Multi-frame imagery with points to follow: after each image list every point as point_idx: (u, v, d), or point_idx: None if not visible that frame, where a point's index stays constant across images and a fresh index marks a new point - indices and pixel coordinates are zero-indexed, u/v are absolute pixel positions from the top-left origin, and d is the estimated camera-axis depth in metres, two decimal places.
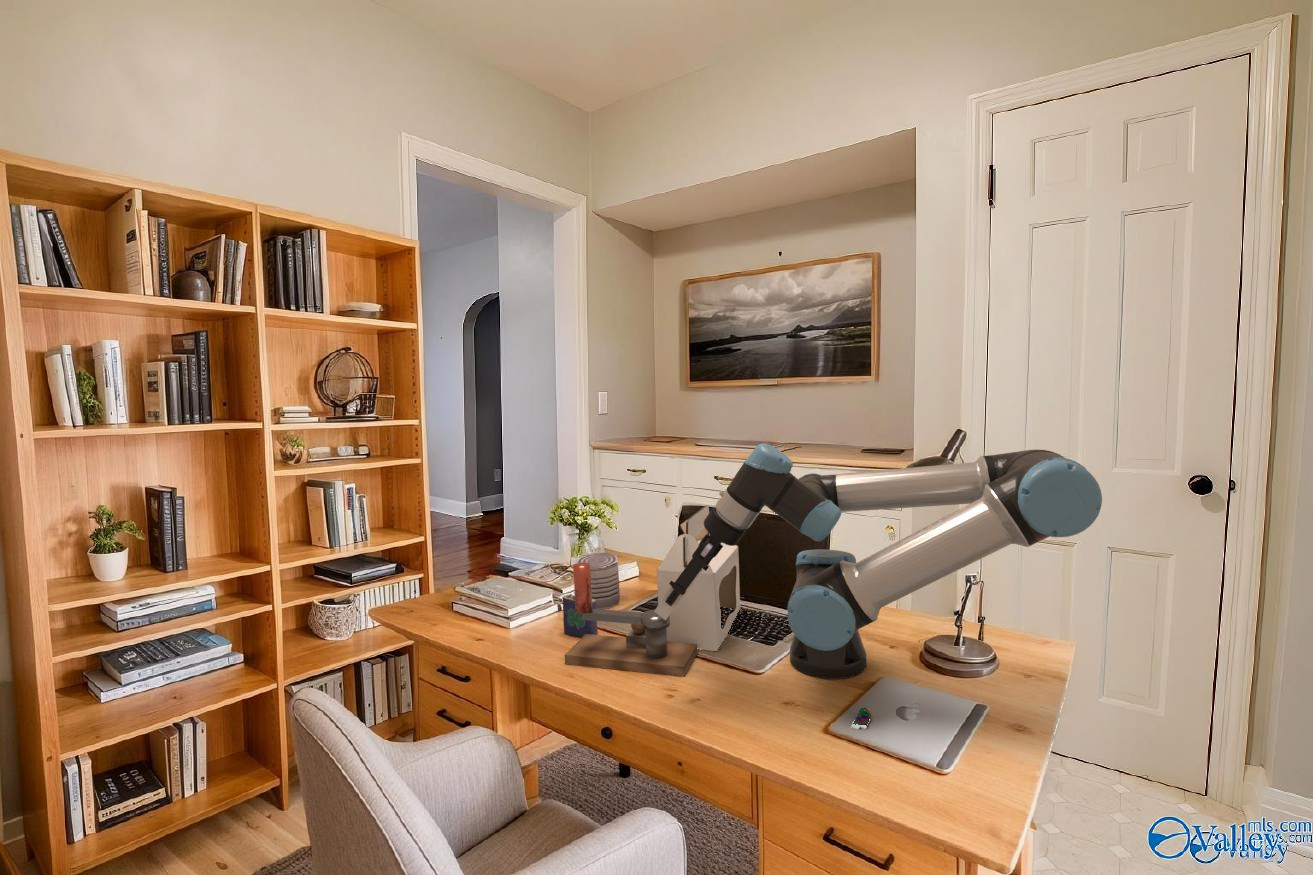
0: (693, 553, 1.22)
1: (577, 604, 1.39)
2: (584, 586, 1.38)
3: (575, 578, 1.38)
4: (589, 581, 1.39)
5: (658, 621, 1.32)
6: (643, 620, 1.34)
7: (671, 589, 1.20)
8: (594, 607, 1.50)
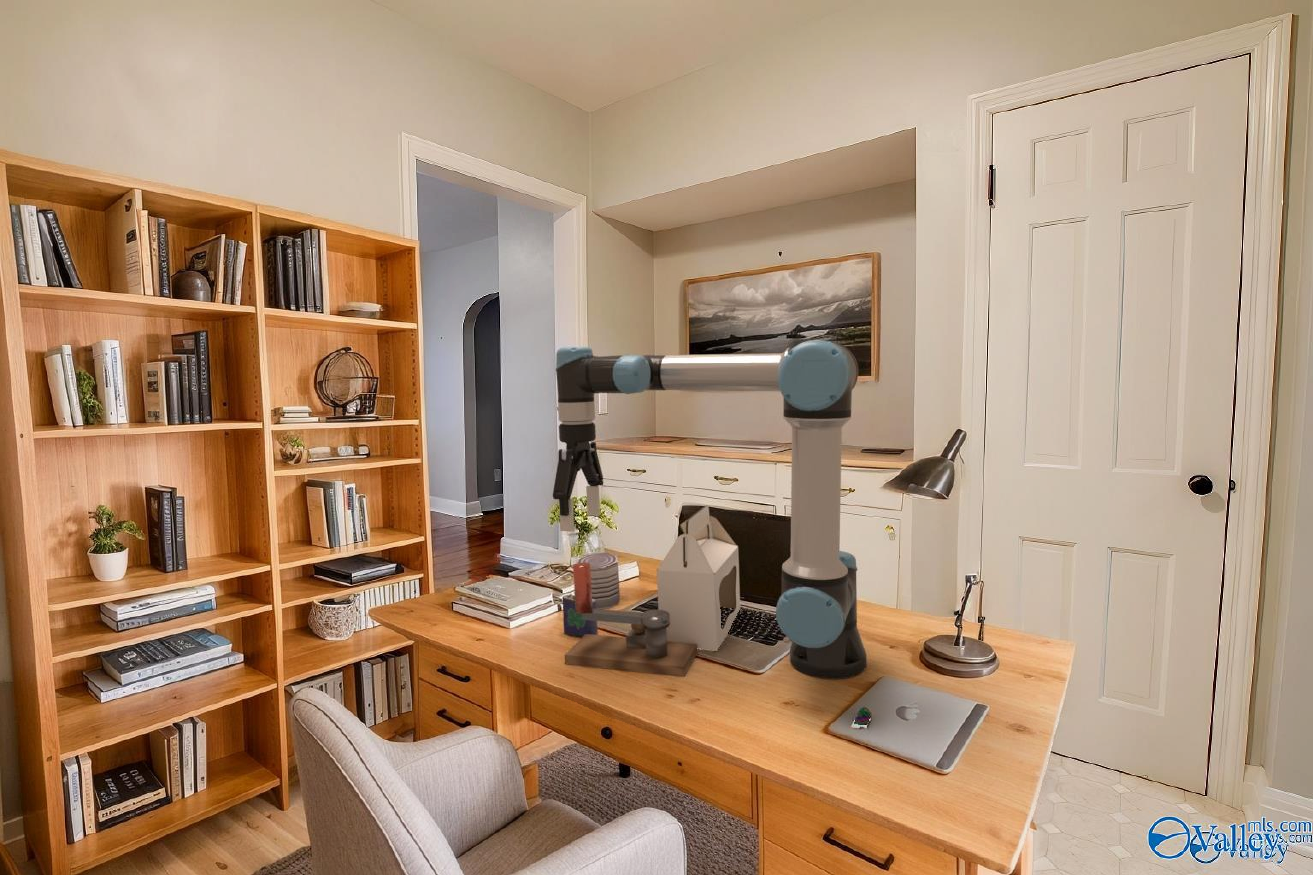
0: None
1: (577, 604, 1.39)
2: (584, 586, 1.38)
3: (575, 578, 1.38)
4: (589, 581, 1.39)
5: (658, 621, 1.32)
6: (643, 620, 1.34)
7: None
8: (594, 607, 1.50)
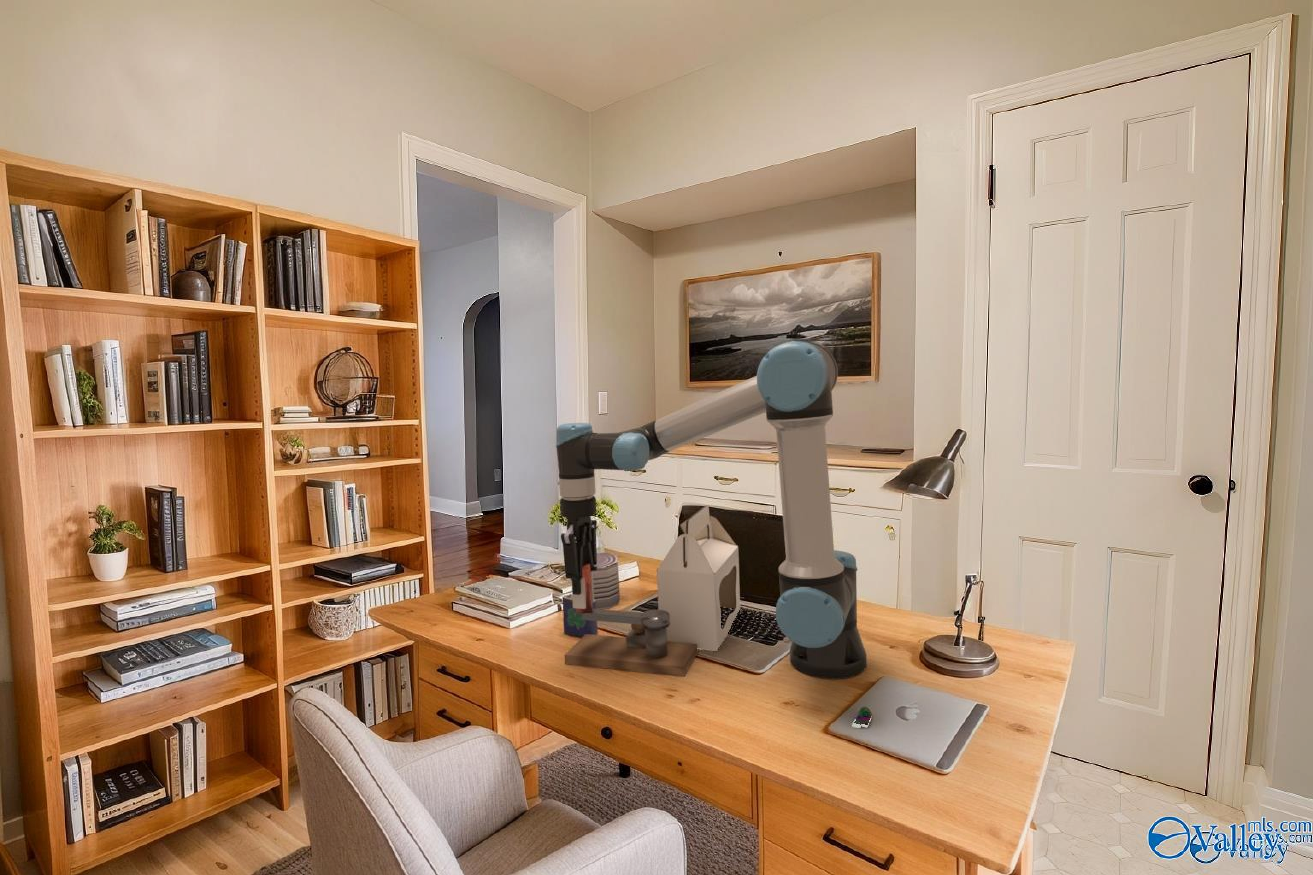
0: None
1: None
2: None
3: None
4: (589, 581, 1.39)
5: (658, 621, 1.32)
6: (643, 620, 1.34)
7: None
8: (594, 607, 1.50)
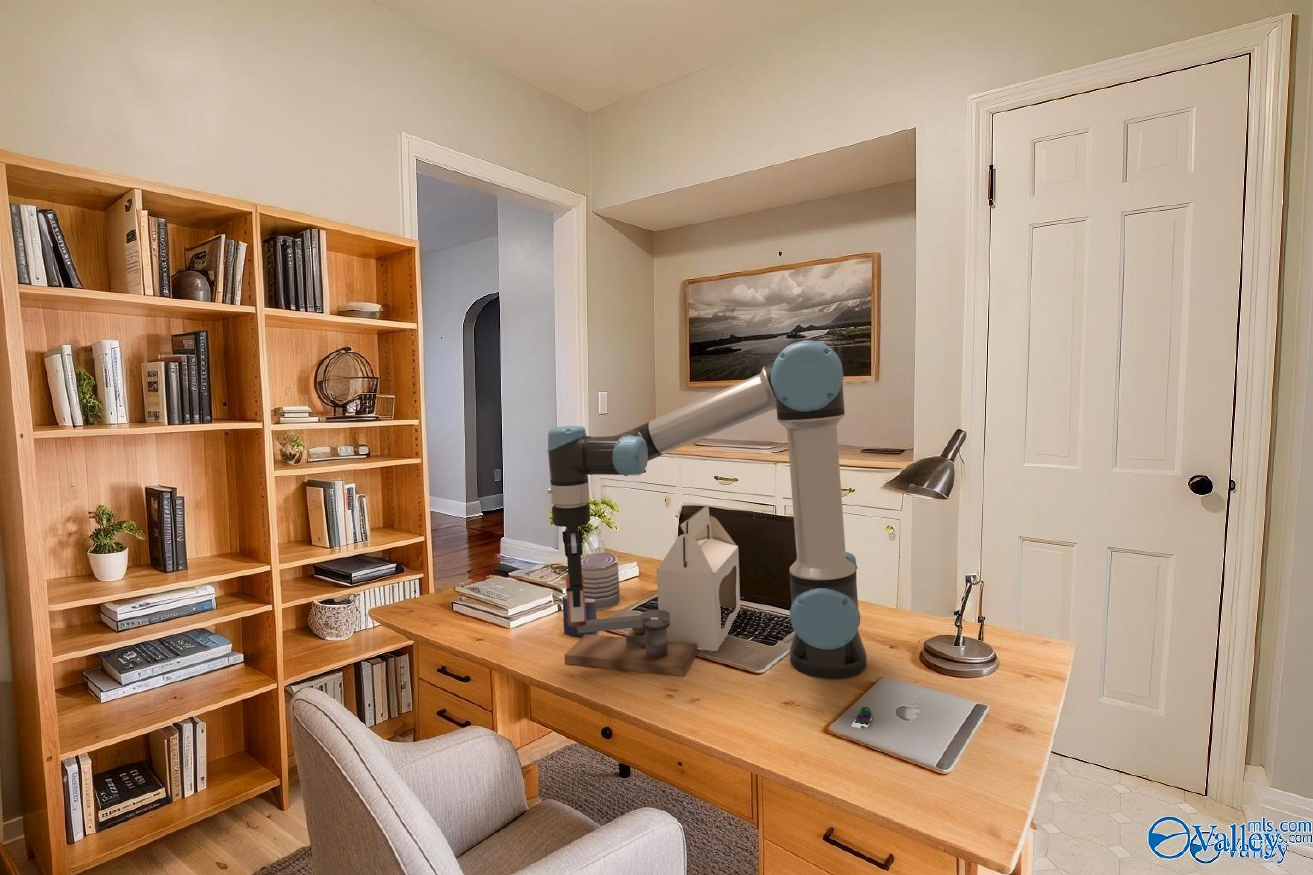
0: (565, 554, 1.29)
1: None
2: None
3: None
4: (584, 591, 1.33)
5: (664, 619, 1.33)
6: (648, 621, 1.33)
7: (571, 594, 1.30)
8: (594, 607, 1.50)
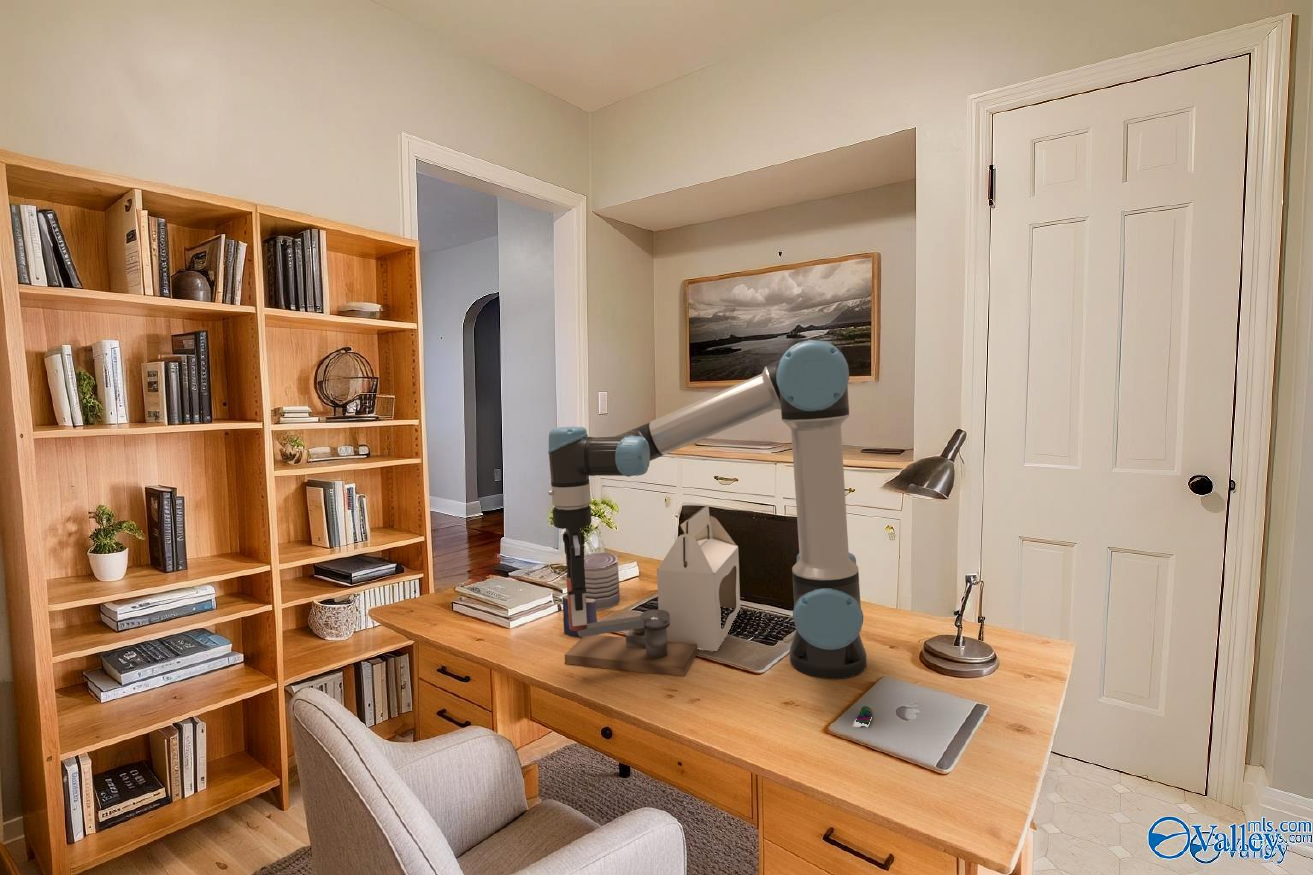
0: (567, 557, 1.27)
1: None
2: None
3: None
4: (585, 594, 1.31)
5: (665, 619, 1.33)
6: (650, 622, 1.33)
7: (572, 597, 1.28)
8: (594, 607, 1.50)
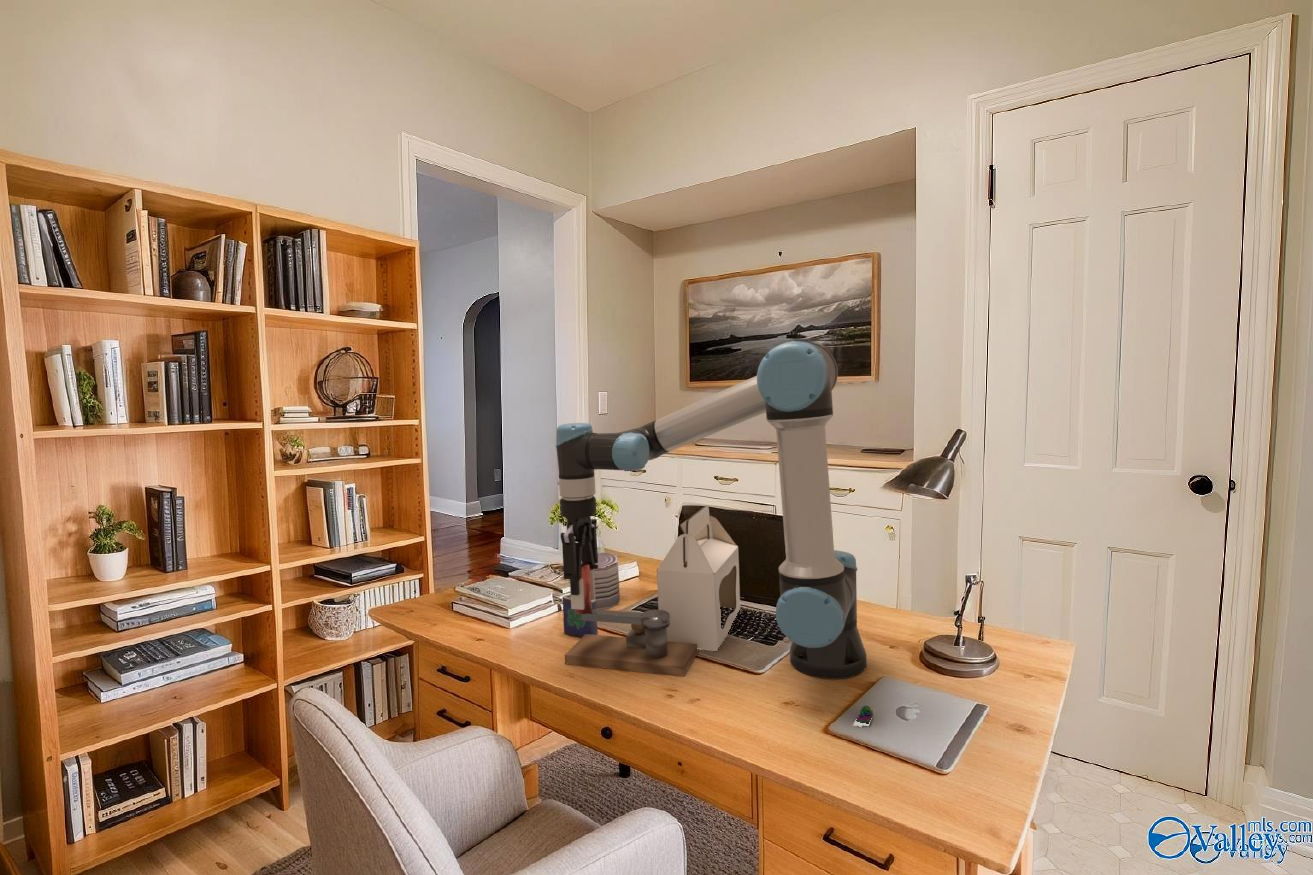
0: None
1: None
2: (584, 587, 1.38)
3: None
4: (588, 581, 1.39)
5: (658, 621, 1.32)
6: (643, 620, 1.34)
7: None
8: (594, 607, 1.50)
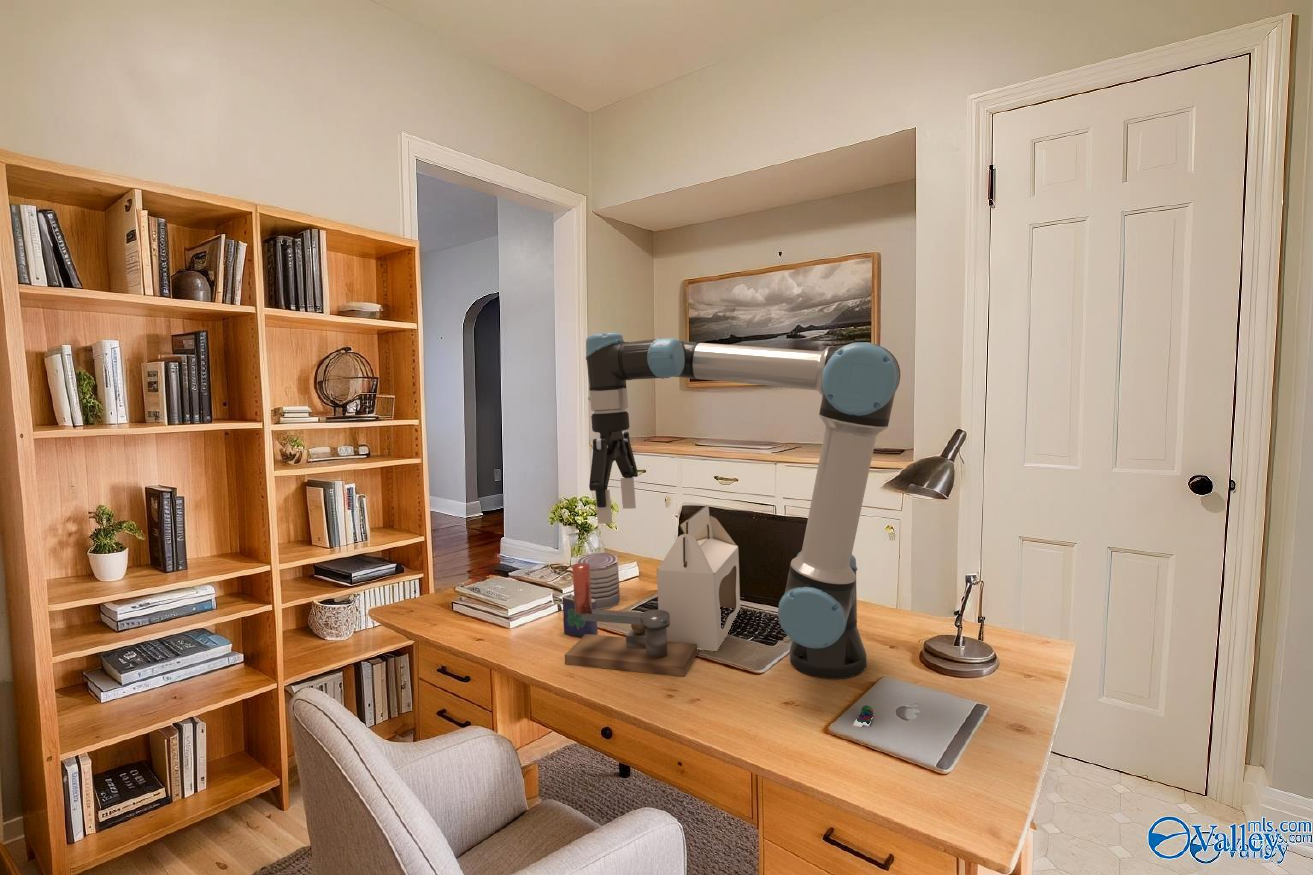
0: None
1: (576, 605, 1.38)
2: (584, 587, 1.38)
3: (574, 579, 1.38)
4: (588, 581, 1.39)
5: (658, 621, 1.32)
6: (643, 620, 1.34)
7: None
8: (594, 607, 1.50)
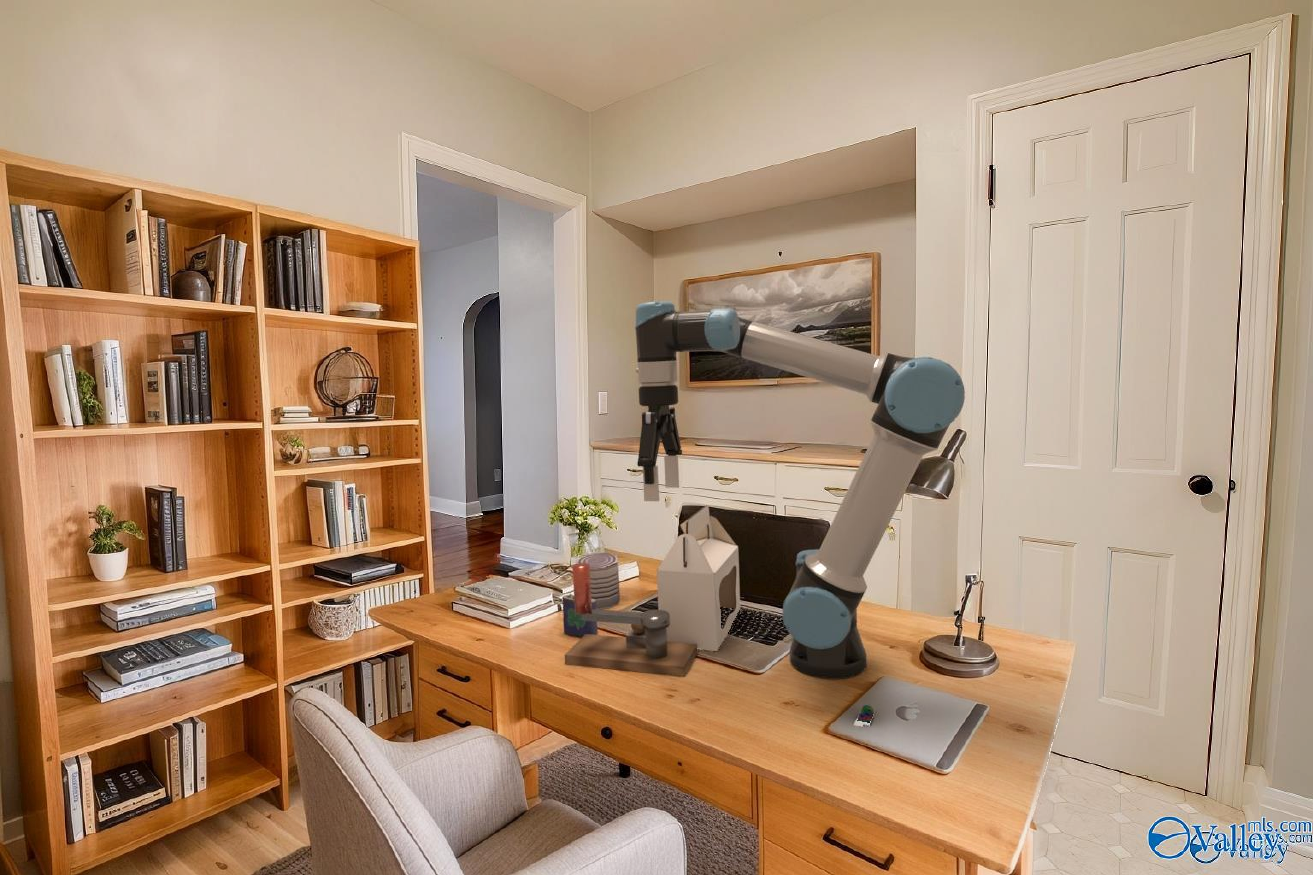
0: None
1: (576, 605, 1.38)
2: (584, 587, 1.38)
3: (574, 579, 1.38)
4: (588, 581, 1.39)
5: (658, 621, 1.32)
6: (643, 620, 1.34)
7: None
8: (594, 607, 1.50)
